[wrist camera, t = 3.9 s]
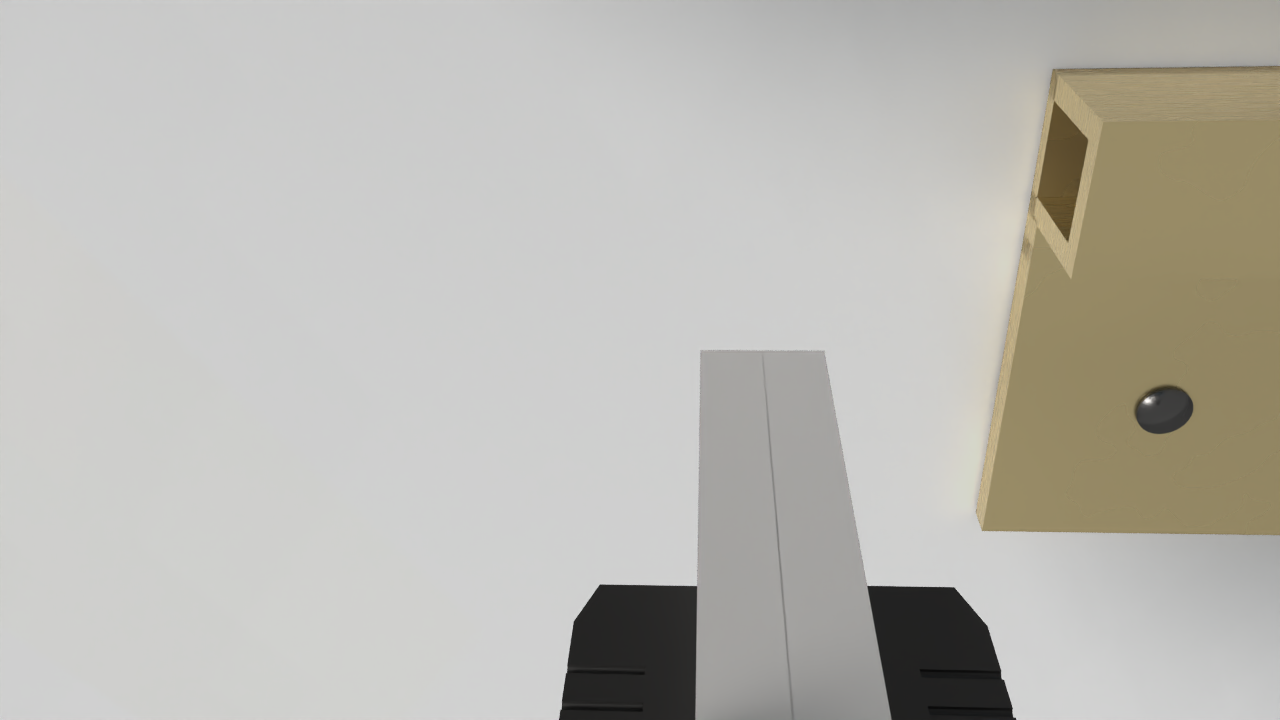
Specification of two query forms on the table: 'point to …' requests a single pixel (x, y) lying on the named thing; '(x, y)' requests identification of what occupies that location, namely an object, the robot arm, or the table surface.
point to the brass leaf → (1145, 311)
